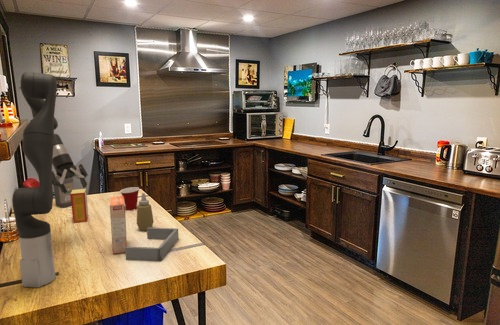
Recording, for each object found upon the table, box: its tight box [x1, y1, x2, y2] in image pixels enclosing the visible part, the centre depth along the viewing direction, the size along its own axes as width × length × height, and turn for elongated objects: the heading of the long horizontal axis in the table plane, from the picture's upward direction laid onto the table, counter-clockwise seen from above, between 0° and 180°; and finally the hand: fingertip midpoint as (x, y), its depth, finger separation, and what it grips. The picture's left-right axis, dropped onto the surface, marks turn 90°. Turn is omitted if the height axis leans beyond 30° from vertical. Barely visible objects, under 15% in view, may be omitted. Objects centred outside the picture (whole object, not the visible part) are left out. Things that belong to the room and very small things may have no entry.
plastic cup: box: [119, 186, 140, 211], centre depth 200 cm, size 11×11×12 cm
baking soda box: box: [71, 188, 89, 224], centre depth 181 cm, size 10×6×16 cm
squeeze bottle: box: [136, 192, 155, 232], centre depth 167 cm, size 8×8×18 cm
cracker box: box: [109, 195, 128, 255], centre depth 145 cm, size 14×6×21 cm, turn 21°
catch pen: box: [124, 227, 179, 262], centre depth 145 cm, size 22×14×5 cm, turn 174°
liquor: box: [53, 174, 75, 209], centre depth 206 cm, size 9×9×30 cm
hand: (75, 189), depth 147 cm, fingers open, 8 cm apart
